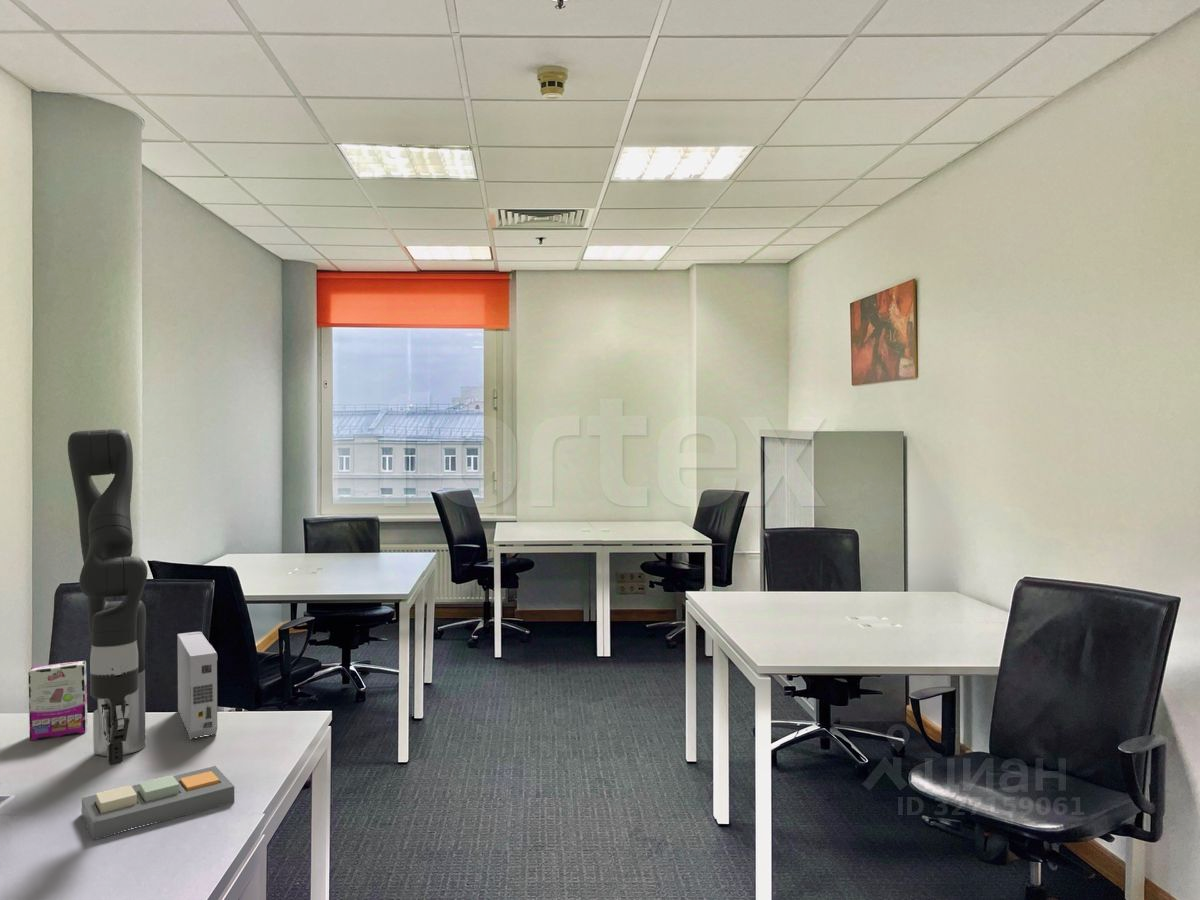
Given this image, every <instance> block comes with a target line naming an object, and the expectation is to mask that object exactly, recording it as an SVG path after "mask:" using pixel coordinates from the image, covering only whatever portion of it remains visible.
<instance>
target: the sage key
mask: <svg viewBox="0 0 1200 900" xmlns="http://www.w3.org/2000/svg"><path fill="white" fill-rule="evenodd" d="M173 776H174V775H173V774H171V775H166V776H162V777H159V778H153V779H150V780H145V781H140V782H139V794H140V795H141V797H142V798H143V800H144V802H147V801H151V800H155V799H159V798H163V797H167V796H170V795H174V794H178V793H179V783H178V782H177V780H176V779H175V778H174V777H173Z"/></svg>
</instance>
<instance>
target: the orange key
mask: <svg viewBox="0 0 1200 900" xmlns="http://www.w3.org/2000/svg"><path fill="white" fill-rule="evenodd" d="M218 783H219V779H218V778H217V777H216V775H215V774H214V773H213V772H212V771H209V772H205V773H201V774H197V775H192V776H188V777H184V778H180V784H181V785H182V787H183V788H184V789H185V791H190V790H194V789H198V788H202V787H206V786H210V785H214V784H218Z"/></svg>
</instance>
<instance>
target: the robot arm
mask: <svg viewBox="0 0 1200 900" xmlns="http://www.w3.org/2000/svg"><path fill="white" fill-rule="evenodd" d="M67 454H68V455H67V456H68V461H69V467H70V473H71V477H72V483H73V487H74V492H75V497H76V498H75V499H76V504H77V513H78V527H79V538H80V539H79V540H80V547H81V555H82V561H83V565H82V568H81V572H80V575H79V579H78V583H79V585H78V586H79V588H80V591H81V592H82V594H83V595H85V597H87V616H88V617H87V619H88V632H89V636H90V638H91V649H90V657H89V658H90V659H89V665H90V666H89V667H90V668H89V673H90V674H89V679H90V681H89V683H90V684H89V685H90V686H89V687H90V688H89V689H90V690H89V692H90V693H89V694H90V696H91V698H94V699H97V709H95V710H94V711H93V713H92V715H93V716H92V720H93V722H92V723H93V728H92V729H93V731H92V732H93V733H92V734H93V737H92V738H93V755H99V756H101V757H102V756H103V757H106V758H107V760H106V761H107V763H108V765H109V766H113V765H114V766H115V765H119V764H121V763H122V762H123V761H124V760H123V758H124V757H123V756H125V755H129V754H132V753H135V752H139V751H140V750H142V749H144V748H145V747H146V736H147V735H146V667H145V666H146V663H145V662H146V661H145V659H146V658H145V657H146V653H145V651H146V649H145V648H146V647H145V646H146V626H147V609H146V606H145V604H144V602H143V601H142V600H141V598H142V595H143V592H144V589H145V586H146V583H147V580H148V567H147V564H146V562H145V561H144V560H143V559H142V558H140V557H139V556H132V554H133V545H134V540H133V539H134V538H133V529H132V518H131V517H132V516H131V502H132V490H133V472H134V471H133V470H134V469H133V468H134V453H133V444H132V440H131V437H130V434H129V433H128V432H127V430H125V429H121V428H117V429H116V428H114V429H112V428H111V429H95V430H94V429H93V430H81V431H80V430H79V431H74V432H72V433H70V435H69V437H68V441H67ZM108 475H114V476H113V478H112V480H111V482H110V483H109V485H108V487H107V488H106V489H105V490H104V491H103V492H102V493H101V492H100V491H99V489H98V487H97V486H96V484H95V482H94V480H93V479H92V476H93V477H94V476H108ZM122 596H124V598H123V600H116V601H107V599H106V598H112V597H122Z"/></svg>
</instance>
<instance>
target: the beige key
mask: <svg viewBox="0 0 1200 900" xmlns="http://www.w3.org/2000/svg"><path fill="white" fill-rule="evenodd" d="M132 786H133V785H131V784H129V785H124V786H120V787H117V788H113V789H108V790H104V791H100V792H96V793H95V795H96V806H97V808H98V810H99V812H100V813H104V812H108V811H112V810H115V809H119V808H123V807H127V806H131V805H135V804H137V794H136V792H135V791H134V789H133V788H132Z"/></svg>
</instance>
